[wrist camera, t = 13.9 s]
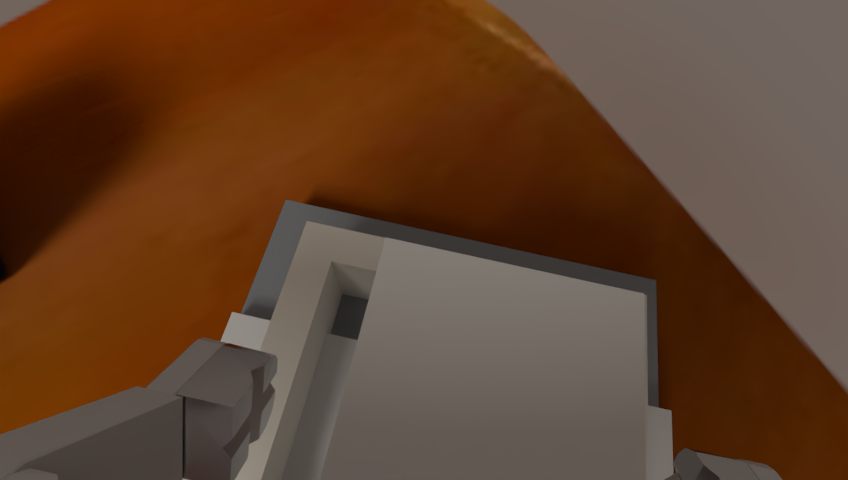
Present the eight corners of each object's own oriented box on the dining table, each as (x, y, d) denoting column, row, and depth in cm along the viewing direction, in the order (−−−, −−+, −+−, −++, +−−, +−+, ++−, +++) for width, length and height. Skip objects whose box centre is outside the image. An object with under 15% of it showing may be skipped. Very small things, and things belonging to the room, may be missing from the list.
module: (513, 369, 16) (647, 294, 7) (489, 572, 13) (652, 795, 5) (387, 341, 16) (382, 236, 8) (339, 536, 13) (255, 699, 5)
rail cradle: (637, 291, 20) (711, 246, 15) (638, 794, 13) (771, 985, 8) (293, 216, 20) (264, 150, 15) (121, 667, 13) (-19, 785, 9)
